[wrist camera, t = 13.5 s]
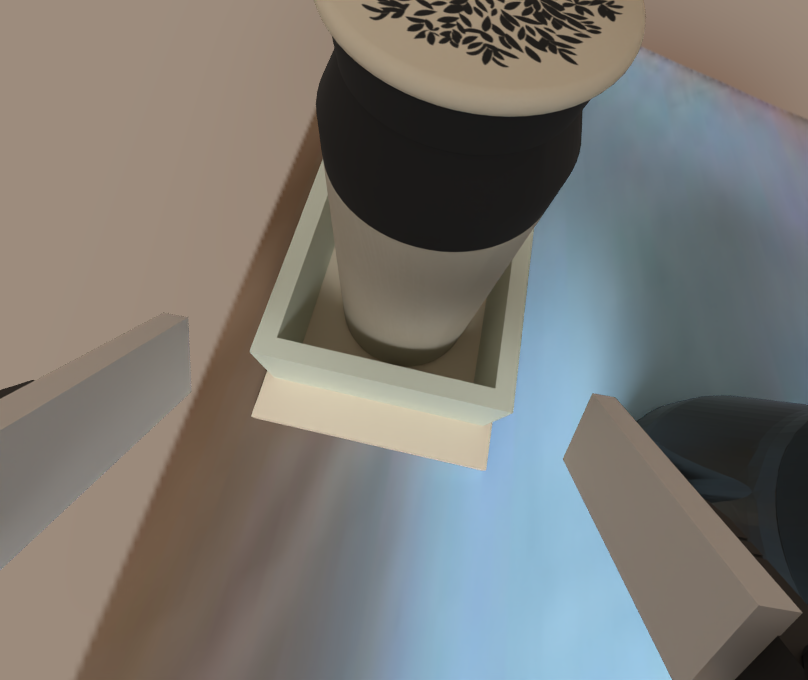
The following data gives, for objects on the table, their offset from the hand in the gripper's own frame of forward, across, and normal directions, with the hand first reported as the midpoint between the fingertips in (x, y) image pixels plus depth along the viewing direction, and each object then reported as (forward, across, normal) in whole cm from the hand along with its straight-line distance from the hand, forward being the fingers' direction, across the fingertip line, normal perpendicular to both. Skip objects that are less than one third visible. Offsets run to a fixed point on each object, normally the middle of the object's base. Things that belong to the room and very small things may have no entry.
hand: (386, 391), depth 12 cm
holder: (+14, 0, -2) cm, 14 cm away
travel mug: (+13, 0, -2) cm, 13 cm away
